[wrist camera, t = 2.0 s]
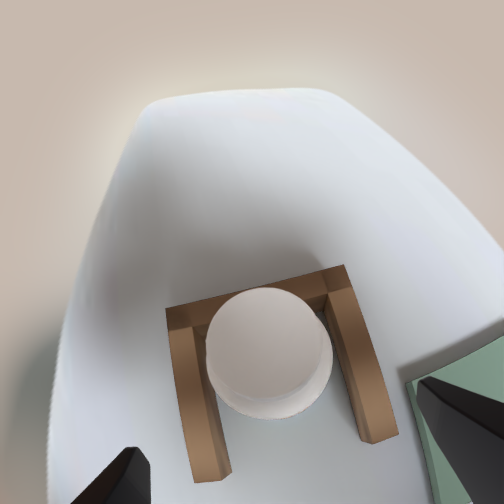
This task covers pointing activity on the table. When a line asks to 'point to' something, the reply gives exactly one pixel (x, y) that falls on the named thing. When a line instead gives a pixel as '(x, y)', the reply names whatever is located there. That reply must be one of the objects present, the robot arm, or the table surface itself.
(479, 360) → the green mat
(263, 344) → the supplement bottle
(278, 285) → the frame
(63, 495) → the table surface
